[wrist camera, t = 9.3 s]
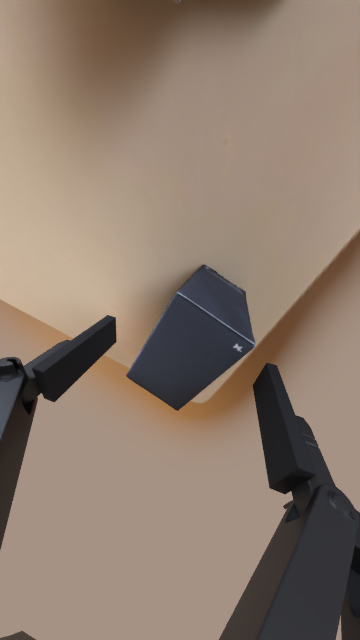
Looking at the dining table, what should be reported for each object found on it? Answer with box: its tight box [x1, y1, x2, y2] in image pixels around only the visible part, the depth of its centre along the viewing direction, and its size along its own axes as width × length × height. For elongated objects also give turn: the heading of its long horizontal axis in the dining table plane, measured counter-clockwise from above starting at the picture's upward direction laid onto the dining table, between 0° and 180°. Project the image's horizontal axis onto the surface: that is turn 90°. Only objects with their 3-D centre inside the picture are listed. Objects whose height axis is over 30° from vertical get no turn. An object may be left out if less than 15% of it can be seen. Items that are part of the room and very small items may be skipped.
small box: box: [126, 265, 255, 411], centre depth 17 cm, size 11×6×10 cm, turn 150°
